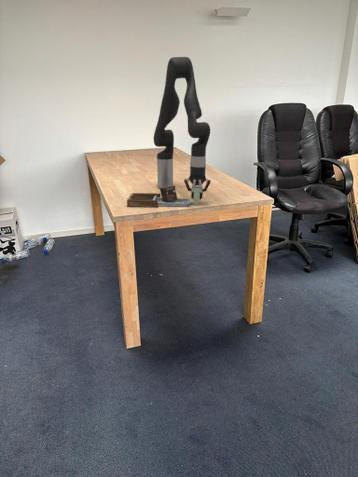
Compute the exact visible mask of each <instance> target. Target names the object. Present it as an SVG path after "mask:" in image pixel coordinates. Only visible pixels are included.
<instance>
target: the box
mask: <svg viewBox="0 0 358 477" xmlns="http://www.w3.org/2000/svg"><path fill="white" fill-rule="evenodd" d="M176 190H177V189H176V186H175V185H173V186H166V187H162V188H160V189H159V191H160V194H161V197H162V201H161V202H166V203H172V202H176V201H175V200H177V198H178V195H177V191H176Z"/></svg>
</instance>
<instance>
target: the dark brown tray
mask: <svg viewBox="0 0 358 477" xmlns="http://www.w3.org/2000/svg"><path fill="white" fill-rule="evenodd" d="M154 196H157V197H161V192H160V193H155V192H154V193H151V192H148V193H147V192H132V193H131V194H130V195H129V196H128V198H127V199H126V207H127V208H156V209H157V208H159V206H158V202H159V201H158V200H153V198H154Z"/></svg>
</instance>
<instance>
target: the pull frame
mask: <svg viewBox="0 0 358 477" xmlns="http://www.w3.org/2000/svg"><path fill="white" fill-rule="evenodd" d="M153 200H158V207H178V208H179V207H182V208H184V207H185V208H189V207H190V206H200V201H201V200H200V186H198V185H197V186H195V187H194V199H193V201H191V198H187V197H186V198H184V197H177V200H175V201H174V202H162V197H157V196H154V198H153Z"/></svg>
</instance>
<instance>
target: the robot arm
mask: <svg viewBox="0 0 358 477" xmlns="http://www.w3.org/2000/svg"><path fill="white" fill-rule="evenodd" d="M165 75H166V76H165V83H164V84H165V85H164V90H163V94H162V100H161V104H160V108H159V115H158V118H157V123H156V127H155V130H154V133H153V144H154V145H155V147H159V148H162V147H163V148H164V147H165V148H164V149H163V150H162V151H160V152H158V153H157V154H156V162H157V163H156V164H157V165H156V167H157V168H156V170H157V189H159V190H160V188H162V187H166V186H174V146H175V145H174V144H175V136H174V132H173V130H172V129H167V127H168V125H169V124H170V123H171V122H172V121H173V120H174V119H175V118H176V116H177V115H178V111H179V108H180V103H181V102H180V97H179V94H178V93H177V90H176V88H175V86H176V81H177V79H185V81H186V90H185V93H184V97H183V106H184V110H185V113H186V116H187V133H188V136H190V138H193V139H197V141H196V142H193V143H192V144H191V148H190V150H191V151H190V159H189V160H190V162H189V164H190V165H189V166H190V167H189V176H188V178H185V179H183V180H184V181H183V182H184V184H185V187H186V190H187V191H188V192H191V194H190V195H191V196H190V199H192V200H194V187H195V186H200V201H202V199H203V193H204V192H205V193H206V192H207V190H208V189H209V187H210V185H211V179H208V178H207V176H206V169H207V164H206V163H207V159H206V154H207V147H208V146H207V145H208V143H209V140H210V135H211V126H210V124H209V123H208V122H206V121H203V122H199V121H198V120H199V119H201V117H202V116H203V113H202V108H201V105H200V101H199V98H198V93H197V87H196V79H195V73H194V66H193V63H192V59H190V57H188V56H175V57H174V56H173V57H170V59H169V60H168V63H167V67H166V74H165ZM197 121H198V122H197ZM189 182H190V183H191V184H192V186H190V184H189ZM204 183H205V186H204V187H203V185H204Z"/></svg>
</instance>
